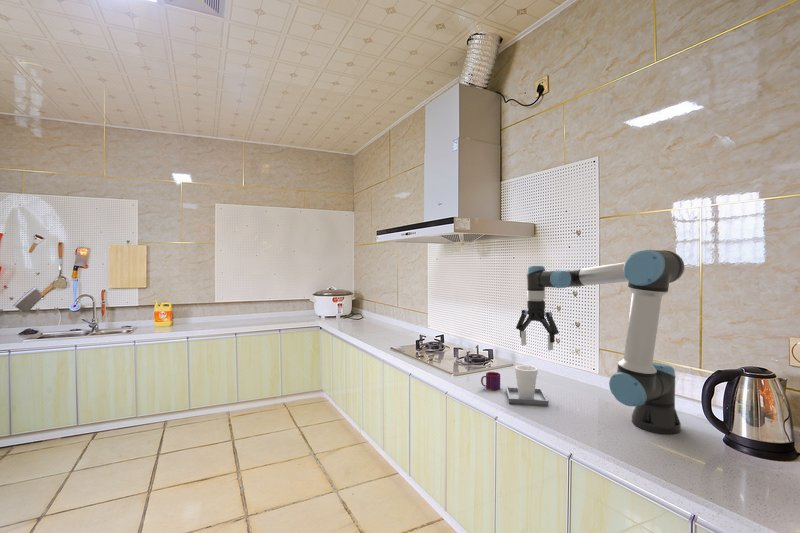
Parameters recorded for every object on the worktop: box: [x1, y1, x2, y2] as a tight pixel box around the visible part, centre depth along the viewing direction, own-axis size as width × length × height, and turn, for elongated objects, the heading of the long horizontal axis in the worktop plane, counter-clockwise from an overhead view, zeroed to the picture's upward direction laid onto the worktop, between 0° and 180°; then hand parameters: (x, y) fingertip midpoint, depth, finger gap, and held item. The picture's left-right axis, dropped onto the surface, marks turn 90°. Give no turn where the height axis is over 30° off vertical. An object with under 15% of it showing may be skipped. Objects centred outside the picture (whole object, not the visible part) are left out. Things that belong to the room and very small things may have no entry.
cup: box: [480, 371, 501, 391], centre depth 188 cm, size 7×10×7 cm
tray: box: [505, 386, 549, 407], centre depth 173 cm, size 16×16×2 cm
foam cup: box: [514, 364, 538, 399], centre depth 173 cm, size 10×9×13 cm
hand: (536, 347), depth 174 cm, fingers open, 13 cm apart
